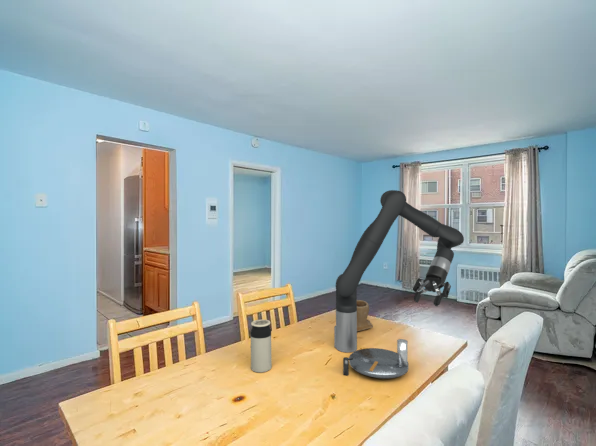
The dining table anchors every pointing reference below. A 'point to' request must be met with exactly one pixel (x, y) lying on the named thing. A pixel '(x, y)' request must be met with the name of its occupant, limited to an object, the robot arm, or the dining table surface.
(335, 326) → the robot arm
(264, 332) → the travel mug
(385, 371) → the turntable
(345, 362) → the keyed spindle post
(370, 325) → the stone cup
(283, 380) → the dining table surface
